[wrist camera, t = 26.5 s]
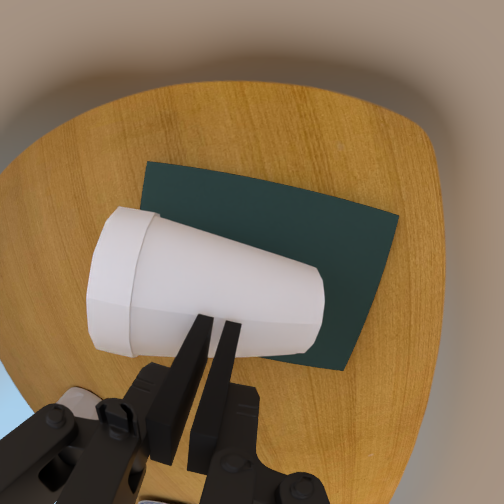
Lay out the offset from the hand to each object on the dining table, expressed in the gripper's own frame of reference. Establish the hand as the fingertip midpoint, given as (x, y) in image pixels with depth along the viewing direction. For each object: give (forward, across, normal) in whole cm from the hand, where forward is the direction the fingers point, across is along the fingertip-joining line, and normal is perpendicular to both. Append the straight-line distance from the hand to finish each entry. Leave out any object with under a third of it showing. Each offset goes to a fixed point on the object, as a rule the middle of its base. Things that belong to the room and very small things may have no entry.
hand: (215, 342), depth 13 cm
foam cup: (+6, +5, 0) cm, 8 cm away
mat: (+12, +1, 0) cm, 12 cm away
